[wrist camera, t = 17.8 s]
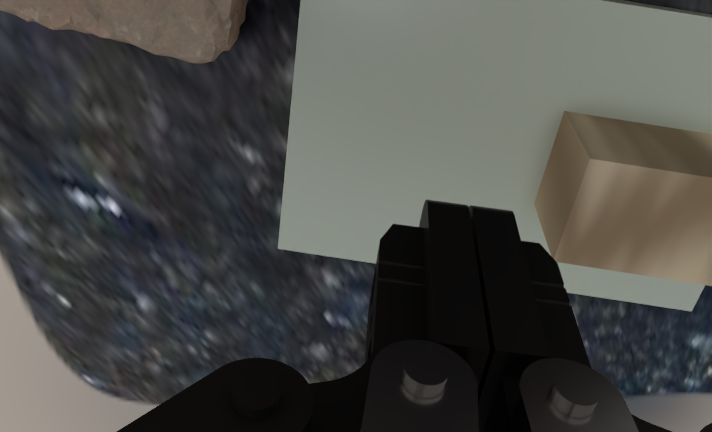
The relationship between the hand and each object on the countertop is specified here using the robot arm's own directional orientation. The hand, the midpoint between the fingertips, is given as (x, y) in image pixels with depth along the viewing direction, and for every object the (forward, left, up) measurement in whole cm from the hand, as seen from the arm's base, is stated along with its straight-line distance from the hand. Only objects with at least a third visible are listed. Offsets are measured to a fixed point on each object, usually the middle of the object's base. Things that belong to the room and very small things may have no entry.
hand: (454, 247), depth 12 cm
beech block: (+4, +5, -11) cm, 13 cm away
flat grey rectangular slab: (+4, +4, -14) cm, 15 cm away
